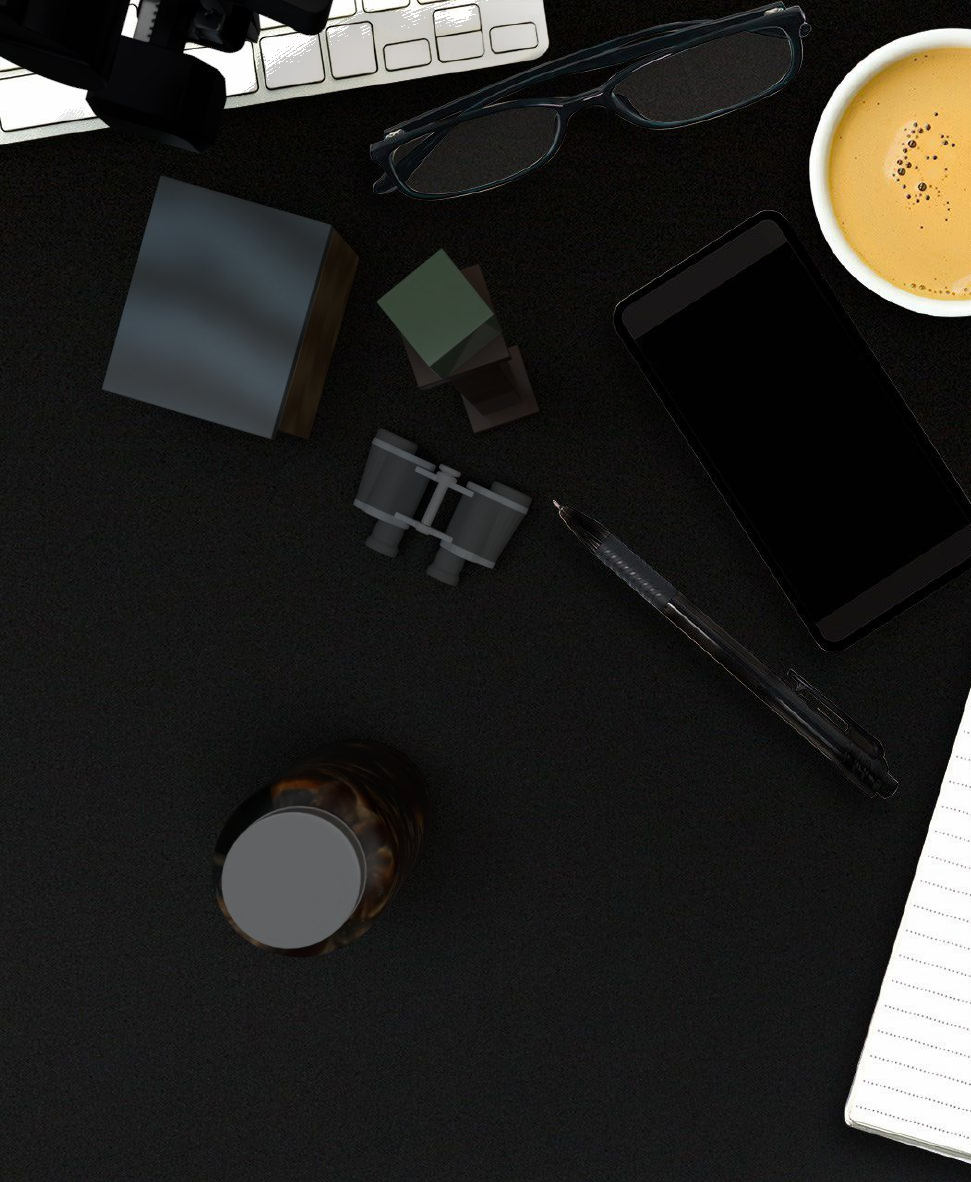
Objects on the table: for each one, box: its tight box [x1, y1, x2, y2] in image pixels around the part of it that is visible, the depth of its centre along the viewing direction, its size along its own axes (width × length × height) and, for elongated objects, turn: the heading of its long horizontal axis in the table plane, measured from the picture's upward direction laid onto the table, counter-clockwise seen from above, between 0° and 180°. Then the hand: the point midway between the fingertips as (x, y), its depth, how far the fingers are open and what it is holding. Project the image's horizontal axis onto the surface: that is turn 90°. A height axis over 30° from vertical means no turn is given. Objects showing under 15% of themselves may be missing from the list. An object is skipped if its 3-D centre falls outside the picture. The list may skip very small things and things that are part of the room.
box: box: [277, 228, 360, 440], centre depth 73 cm, size 14×12×7 cm
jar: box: [211, 739, 434, 958], centre depth 70 cm, size 12×12×15 cm
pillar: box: [398, 263, 542, 436], centre depth 65 cm, size 5×5×22 cm
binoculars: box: [352, 427, 533, 587], centre depth 75 cm, size 12×8×4 cm, turn 65°
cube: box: [376, 248, 504, 380], centre depth 52 cm, size 4×4×4 cm
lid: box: [101, 175, 335, 441], centre depth 69 cm, size 14×12×1 cm
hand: (251, 35), depth 63 cm, fingers closed
